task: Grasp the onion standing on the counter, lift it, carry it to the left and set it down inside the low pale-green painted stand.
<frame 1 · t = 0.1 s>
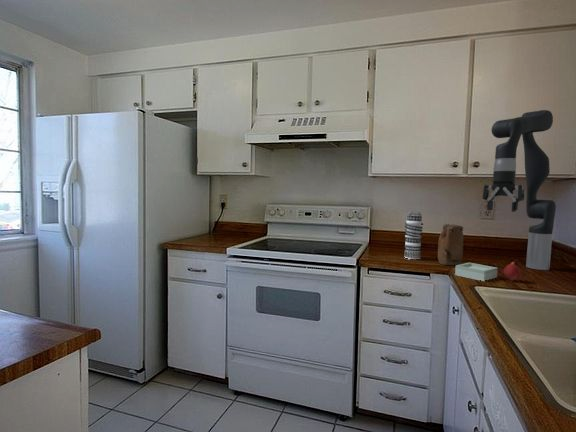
hand: (501, 210, 137), 29 cm above the countertop, fingers open, 8 cm apart
stand: (475, 276, 148), on the countertop
onion: (511, 281, 141), on the countertop
block: (449, 264, 171), on the countertop
white grey cylinder: (412, 258, 184), on the countertop
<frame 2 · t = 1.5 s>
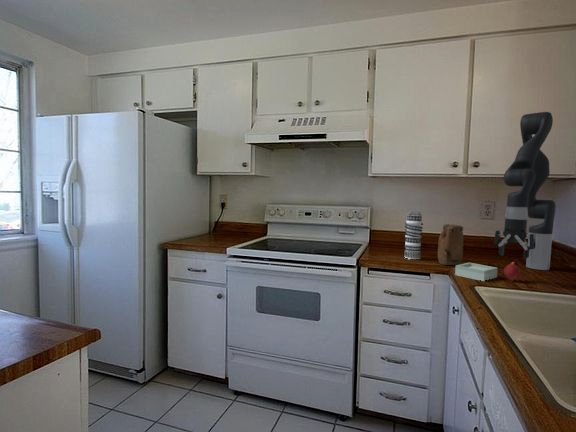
hand: (513, 257, 140), 10 cm above the countertop, fingers open, 8 cm apart
nothing on the countertop moved.
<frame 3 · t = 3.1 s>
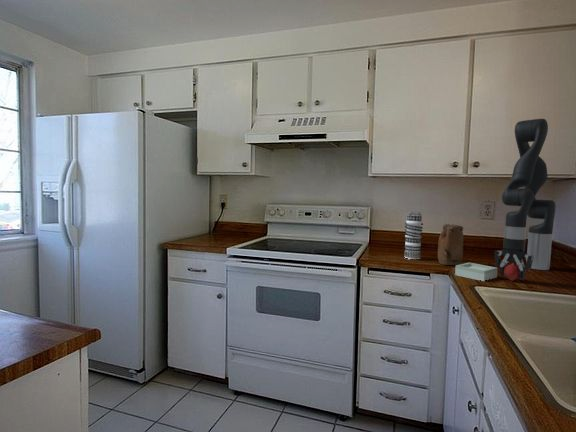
hand: (511, 277, 141), 1 cm above the countertop, fingers closed on onion, 6 cm apart
onion: (511, 281, 141), on the countertop, touching gripper
everything else where it was.
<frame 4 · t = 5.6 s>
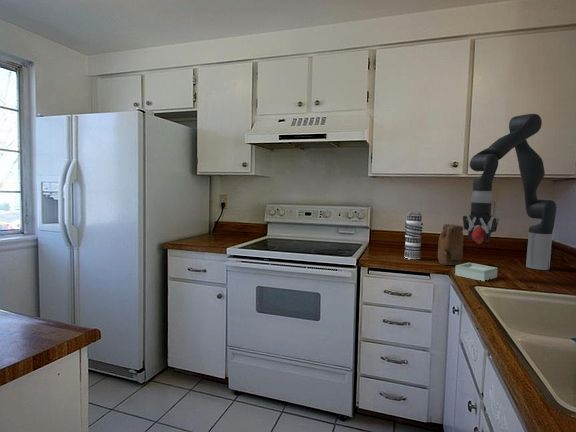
hand: (478, 240, 146), 16 cm above the countertop, fingers closed on onion, 6 cm apart
onion: (478, 244, 146), point 14 cm above the countertop, touching gripper
everything else where it was.
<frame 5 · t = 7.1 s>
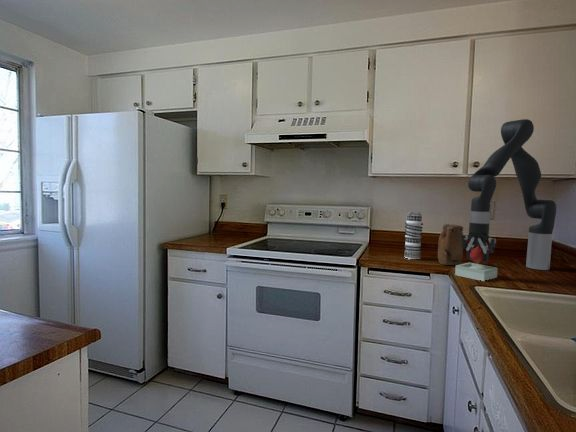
hand: (476, 260, 147), 7 cm above the countertop, fingers closed on onion, 6 cm apart
onion: (476, 264, 147), point 5 cm above the countertop, touching gripper
everything else where it was.
when the fingers open (6 cm above the countertop, at t = 8.3 s): onion drops 1 cm, resting on stand.
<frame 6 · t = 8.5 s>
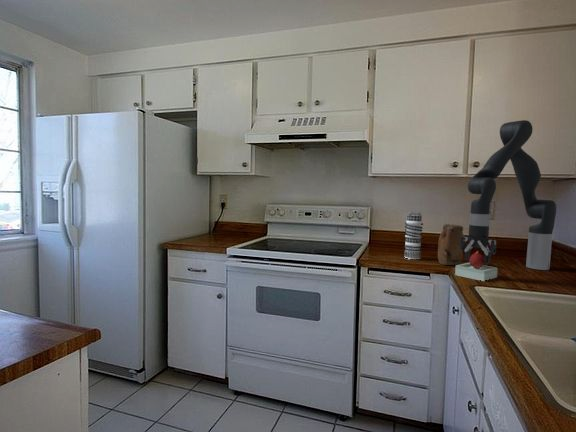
hand: (476, 262, 147), 6 cm above the countertop, fingers open, 7 cm apart
onion: (476, 269, 148), point 3 cm above the countertop, touching stand
everything else where it was.
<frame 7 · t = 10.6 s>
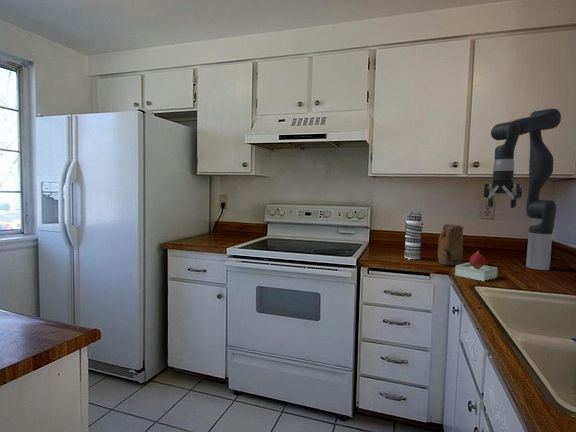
hand: (501, 207, 149), 30 cm above the countertop, fingers open, 8 cm apart
nothing on the countertop moved.
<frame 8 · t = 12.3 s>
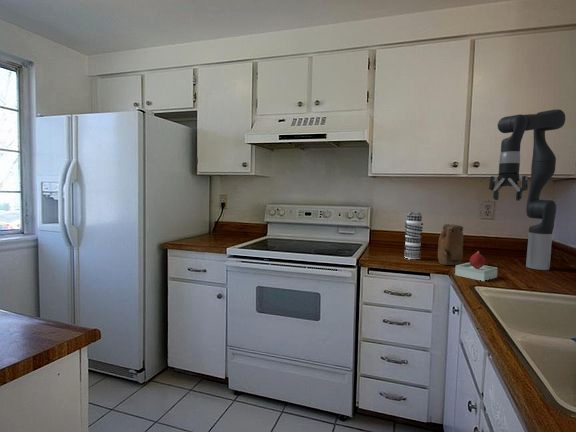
hand: (506, 200, 149), 33 cm above the countertop, fingers open, 8 cm apart
nothing on the countertop moved.
at the end: onion inside the target area on the stand (0.2 cm from its centre), point 2.8 cm above the stand's base; the gripper is holding nothing; onion touching stand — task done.
